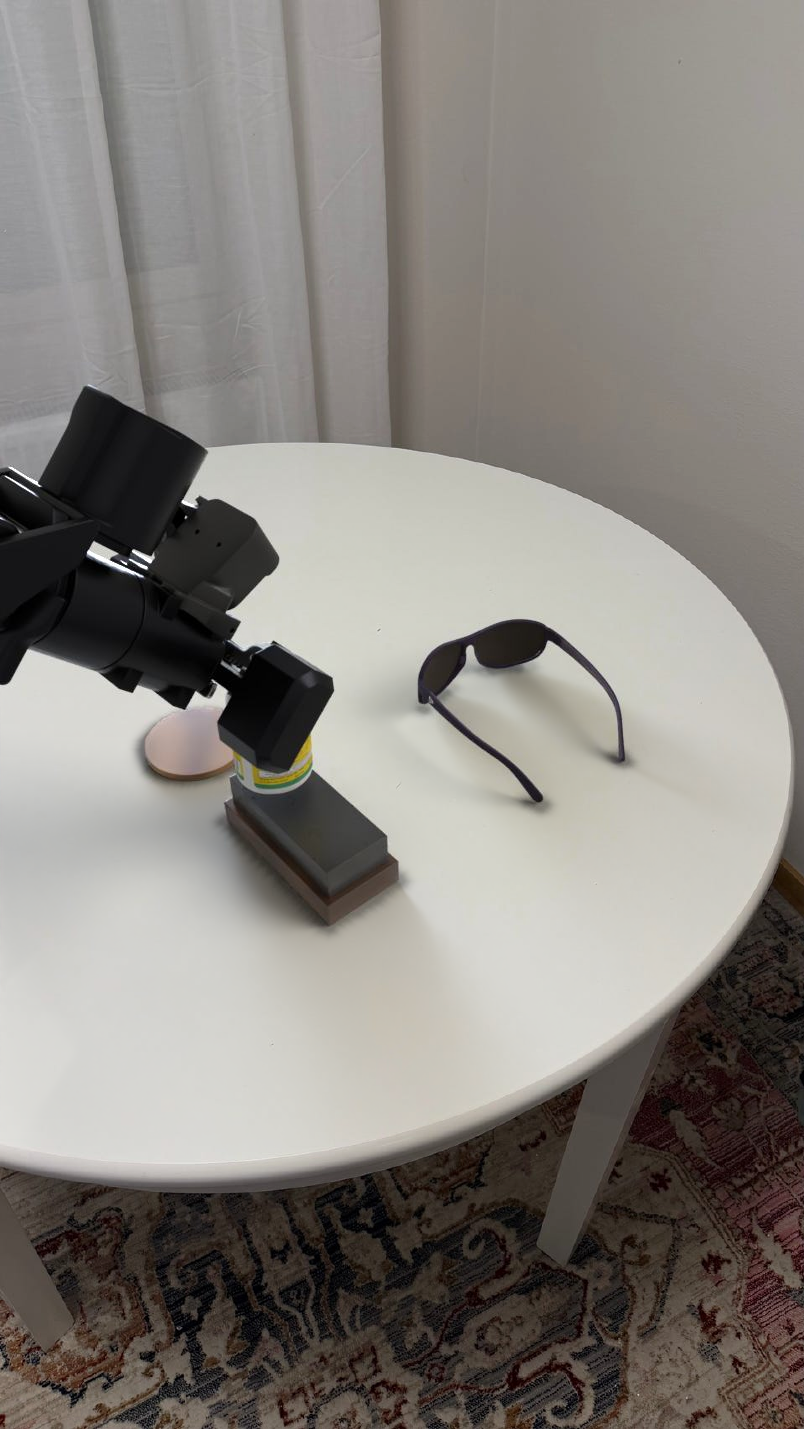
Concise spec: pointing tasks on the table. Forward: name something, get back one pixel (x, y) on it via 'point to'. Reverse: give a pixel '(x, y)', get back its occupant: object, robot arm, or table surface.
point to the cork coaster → (188, 746)
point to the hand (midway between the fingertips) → (282, 687)
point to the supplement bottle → (267, 780)
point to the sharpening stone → (316, 844)
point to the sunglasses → (498, 650)
